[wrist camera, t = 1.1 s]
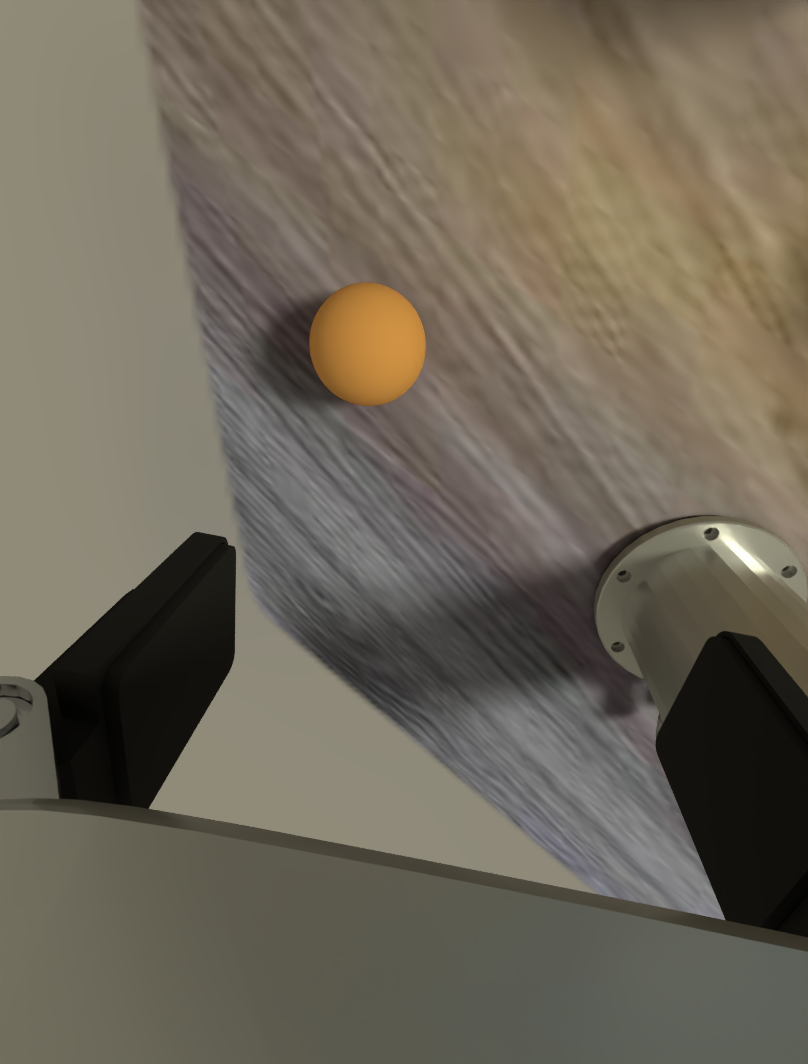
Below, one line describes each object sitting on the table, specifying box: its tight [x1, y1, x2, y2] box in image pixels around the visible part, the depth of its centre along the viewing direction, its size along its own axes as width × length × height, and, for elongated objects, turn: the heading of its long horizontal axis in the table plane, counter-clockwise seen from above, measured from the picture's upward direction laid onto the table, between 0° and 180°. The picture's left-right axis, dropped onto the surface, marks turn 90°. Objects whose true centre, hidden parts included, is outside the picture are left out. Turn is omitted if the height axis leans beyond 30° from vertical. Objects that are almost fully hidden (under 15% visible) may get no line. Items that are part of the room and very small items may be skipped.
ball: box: [309, 283, 426, 406], centre depth 27 cm, size 6×6×6 cm
